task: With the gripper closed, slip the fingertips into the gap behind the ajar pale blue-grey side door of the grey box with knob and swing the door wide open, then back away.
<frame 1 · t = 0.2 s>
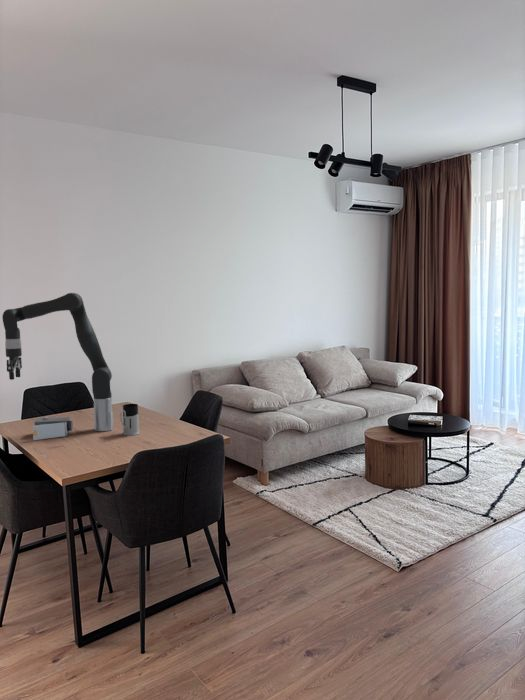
hand: (15, 378, 286), 29 cm above the table, fingers open, 8 cm apart
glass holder: (128, 435, 282), on the table
grey box with knob: (53, 434, 283), on the table
side door: (50, 431, 274), point 4 cm above the table, hinge at 25.0°
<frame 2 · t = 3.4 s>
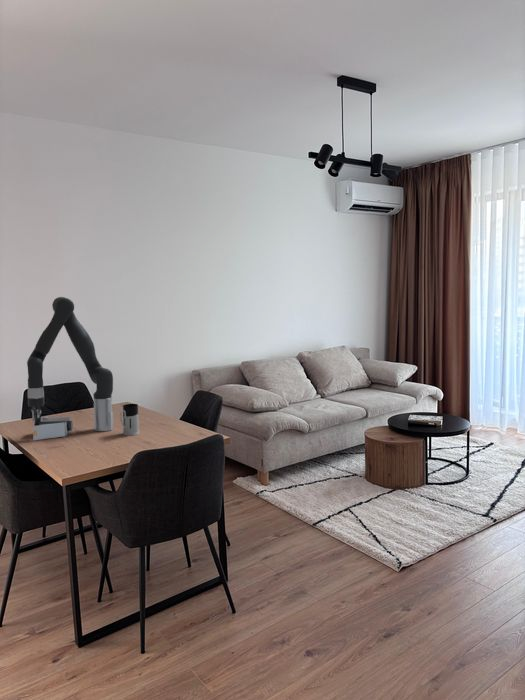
hand: (37, 430, 273), 4 cm above the table, fingers closed
side door: (50, 431, 274), point 4 cm above the table, hinge at 25.7°, touching gripper
everything else where it was.
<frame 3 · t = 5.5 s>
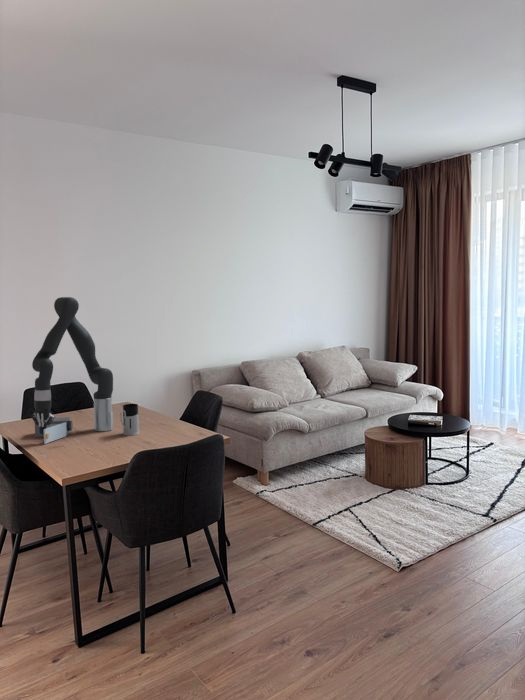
hand: (43, 434, 266), 4 cm above the table, fingers closed
side door: (56, 432, 271), point 4 cm above the table, hinge at 65.8°, touching gripper
everything else where it was.
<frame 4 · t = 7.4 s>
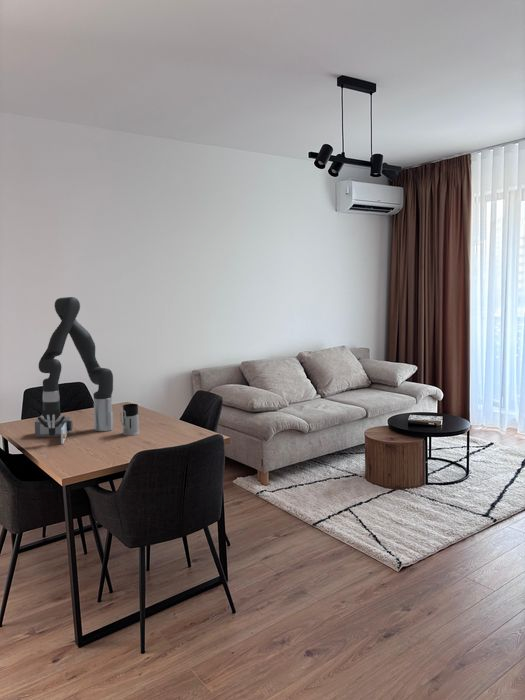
hand: (52, 435, 264), 4 cm above the table, fingers closed
side door: (65, 432, 271), point 4 cm above the table, hinge at 97.7°
everything else where it was.
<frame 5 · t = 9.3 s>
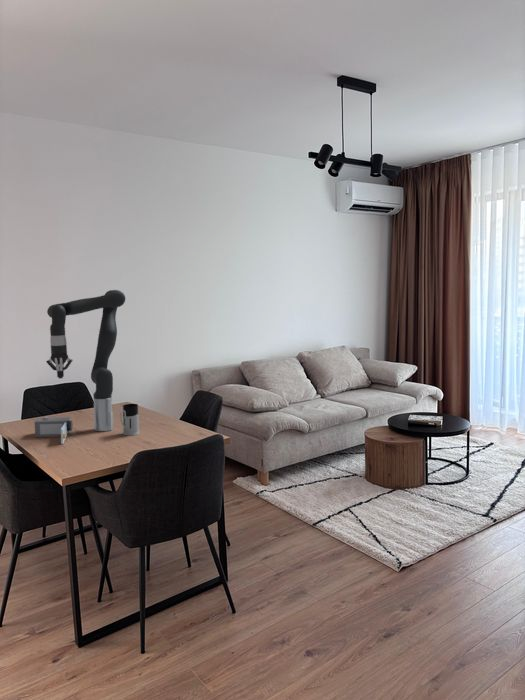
hand: (60, 378, 277), 30 cm above the table, fingers closed
nothing on the table moved.
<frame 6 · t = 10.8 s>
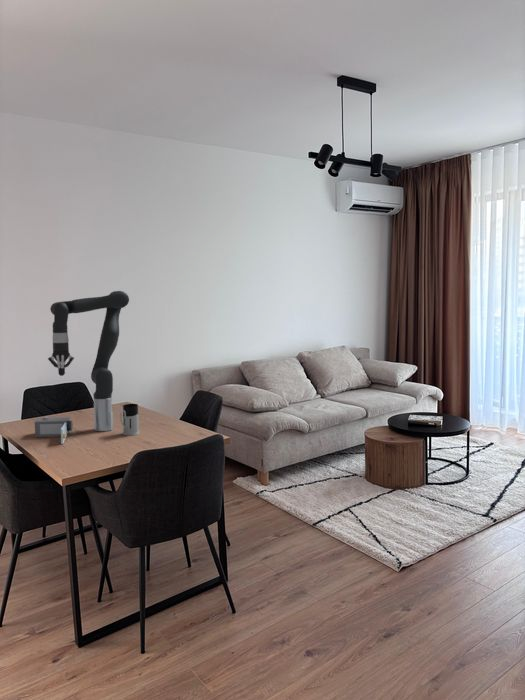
hand: (61, 375, 279), 31 cm above the table, fingers closed
nothing on the table moved.
at the end: side door at +98° (first picture: +25°) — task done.
